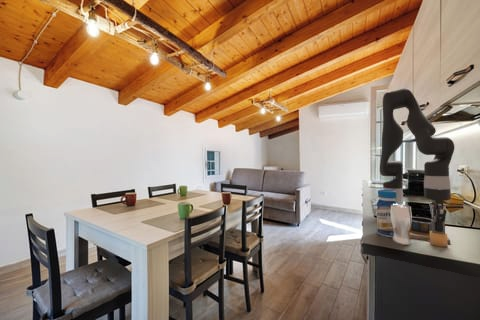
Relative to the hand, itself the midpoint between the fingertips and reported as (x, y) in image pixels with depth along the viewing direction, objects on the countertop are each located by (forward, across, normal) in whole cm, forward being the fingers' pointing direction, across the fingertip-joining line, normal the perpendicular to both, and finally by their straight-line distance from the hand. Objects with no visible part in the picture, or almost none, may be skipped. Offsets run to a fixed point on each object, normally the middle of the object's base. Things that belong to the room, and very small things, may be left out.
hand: (438, 230), depth 79 cm
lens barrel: (+4, -13, -3) cm, 14 cm away
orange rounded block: (+5, 0, 0) cm, 5 cm away
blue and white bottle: (+6, -3, -16) cm, 17 cm away
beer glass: (+6, +4, -12) cm, 14 cm away
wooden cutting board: (+6, -13, -3) cm, 14 cm away
